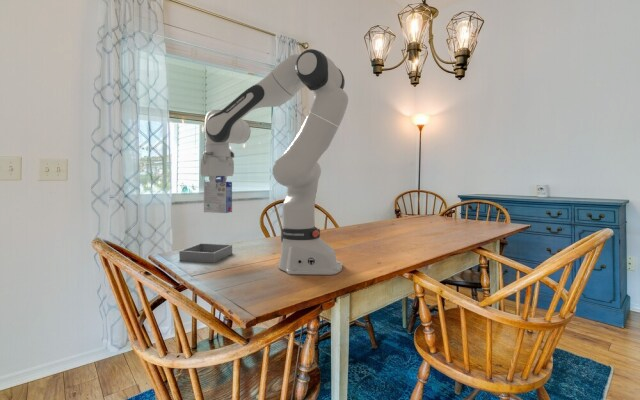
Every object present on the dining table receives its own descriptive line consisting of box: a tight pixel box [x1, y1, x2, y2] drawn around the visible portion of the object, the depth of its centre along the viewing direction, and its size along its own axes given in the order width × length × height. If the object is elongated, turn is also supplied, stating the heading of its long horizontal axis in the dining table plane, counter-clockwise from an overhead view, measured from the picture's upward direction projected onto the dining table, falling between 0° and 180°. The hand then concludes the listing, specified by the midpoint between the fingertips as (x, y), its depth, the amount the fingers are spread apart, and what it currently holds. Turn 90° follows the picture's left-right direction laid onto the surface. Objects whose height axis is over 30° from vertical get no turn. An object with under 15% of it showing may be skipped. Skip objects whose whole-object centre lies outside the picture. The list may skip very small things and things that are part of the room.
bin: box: [178, 242, 233, 264], centre depth 130 cm, size 14×14×4 cm
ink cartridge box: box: [203, 176, 233, 214], centre depth 132 cm, size 10×6×14 cm, turn 79°
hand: (218, 188), depth 132 cm, fingers closed on ink cartridge box, 5 cm apart
